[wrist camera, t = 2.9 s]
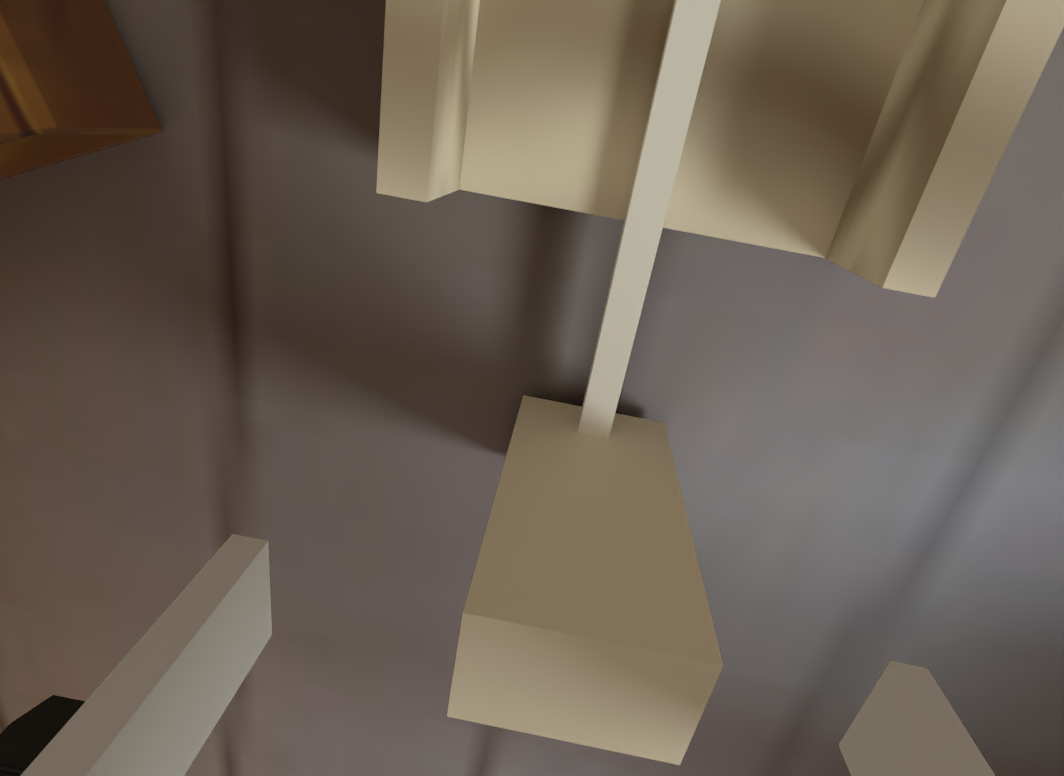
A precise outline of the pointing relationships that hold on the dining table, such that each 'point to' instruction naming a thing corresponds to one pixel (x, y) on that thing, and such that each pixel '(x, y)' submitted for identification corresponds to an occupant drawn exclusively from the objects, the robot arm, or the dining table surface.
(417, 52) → the lane
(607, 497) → the block sled
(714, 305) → the dining table surface
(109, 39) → the diary
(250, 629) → the robot arm
